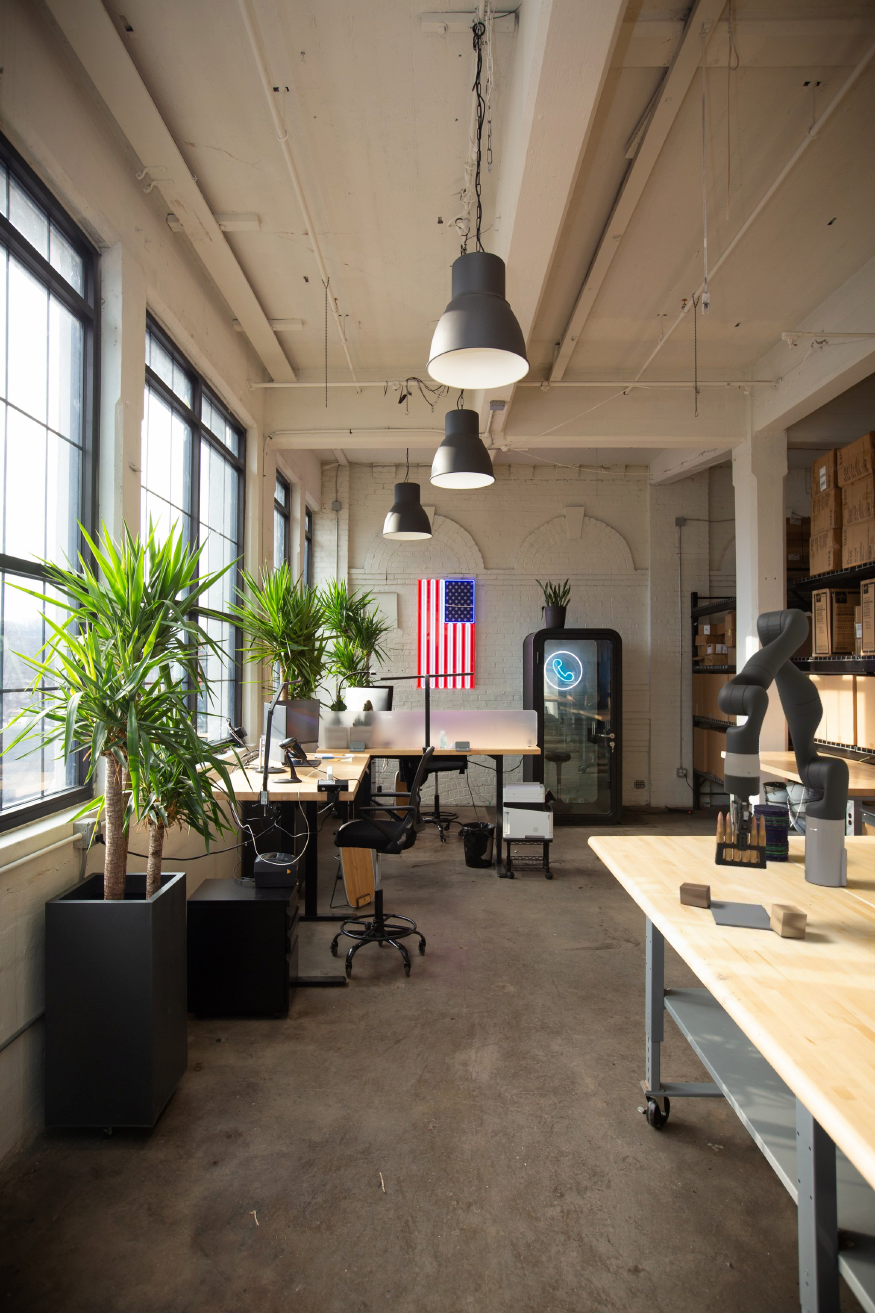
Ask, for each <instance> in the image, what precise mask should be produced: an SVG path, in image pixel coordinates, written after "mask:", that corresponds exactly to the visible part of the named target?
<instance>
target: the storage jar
mask: <svg viewBox="0 0 875 1313" xmlns="http://www.w3.org/2000/svg"><path fill="white" fill-rule="evenodd" d="M753 814H755V817H756V823H757V844H758V832H759V822H760V817H761V815H763V816H764V820H765V833H766V862H771V863H785V862H788V861H789V852H790V842H789V828H790V809H789V808H788V807H787V806H782V805H776V804H764V803H763V804H759V803H757V804H754V805H753ZM757 858H758V851H757Z"/></svg>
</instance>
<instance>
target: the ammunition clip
mask: <svg viewBox="0 0 875 1313" xmlns="http://www.w3.org/2000/svg"><path fill="white" fill-rule="evenodd" d="M723 816H724V815H723V813H722V811H719V813H718V816H717V825H716V826H717V828H716V833H715V834H716V837H715V838H716V840H715V841H716V842H715V856H714V857H715V858H714V864H715V865H716V866H724V867H725V866H726V867H733V868H734V867H736V868H737V867H738V868H746V869H747V868H749V869H756V870H757V869H759V870H760V869H761V870H767V861H766V833H765V820H764V816H763V815H761V817H760V822H759V832H758V844H757V823H756V817H755V814H754V813H753V815H752V820H751V828H750V833H749V834H748V838H747V851H738V850H737V848H736V837H737V833H736V823H735V822H734V826H733V824H732V822H733V819H732V814H731V812H730V811H728V813H727V814H726V818H725V819H726V821H725V829H724V817H723ZM737 819H739V818H737ZM733 827H734V828H733ZM742 827H744V828H746V826H745V825H743V826H742ZM757 851H758V858H757Z"/></svg>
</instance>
